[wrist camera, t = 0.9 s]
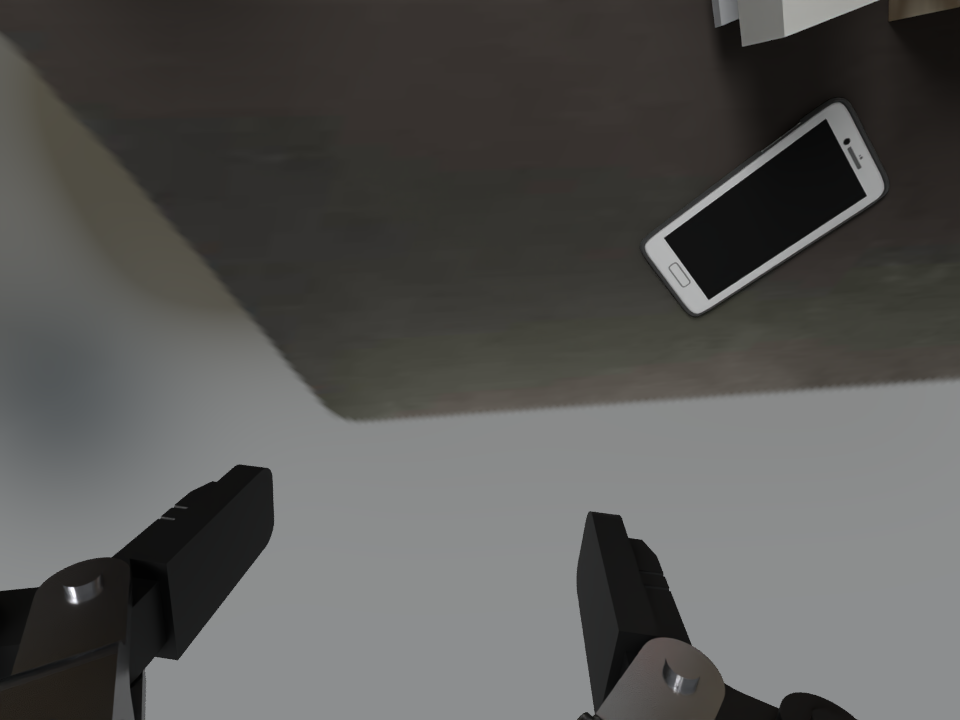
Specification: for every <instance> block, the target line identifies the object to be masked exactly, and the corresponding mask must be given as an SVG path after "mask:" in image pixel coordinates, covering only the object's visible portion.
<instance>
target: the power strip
mask: <svg viewBox="0 0 960 720" xmlns="http://www.w3.org/2000/svg"><path fill="white" fill-rule="evenodd" d="M875 1H878V0H712V6H713V14H714V22H715V28H717V27H719V26H722V25H725V24H727V23H729V22H732V21H734V20H737V19H739V21H740V31H741V41H742V47H744V46H748V45H753V44H757V43H762V42H766V41H770V40H775V39H779V38H784V37H787V36H789V35H792V34H794V33H797V32H799V31H802V30H804V29H807V28H809V27H812V26H815V25H817V24H820V23H822V22H825V21H827V20H830V19H832V18H835V17H837V16H840V15H842V14H845V13H847V12H850V11H853V10H855V9H858V8H860V7H863V6H865V5H868V4H870V3H873V2H875Z"/></svg>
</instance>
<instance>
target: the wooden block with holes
mask: <svg viewBox="0 0 960 720" xmlns="http://www.w3.org/2000/svg"><path fill="white" fill-rule="evenodd" d="M958 7H960V0H889V17H888V22H889V21H894V20H899V19H904V18H909V17H914V16H918V15H923V14H928V13H933V12H938V11H943V10H948V9H953V8H958Z"/></svg>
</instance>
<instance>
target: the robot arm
mask: <svg viewBox="0 0 960 720" xmlns="http://www.w3.org/2000/svg"><path fill="white" fill-rule="evenodd" d="M273 526H274V507H273V481H272V473H271V470H270V469H268V468H263V467H254V466H246V465H237V466H235V467H234V468H232V469H231V470H230V471H229V472H228V473H227V474H226V475H224V476H223V477H222V478H221V479H220V480H219V481H217V482H213V481H212V482H210V483H208V484H206V485H204V486H202V487H200V488H197V489H195V490H193V491H191V492H190V493H188V494H187V495H186V496H185V497H184V498H182V499H181V500H180V501H179V502H178V503H176V504H175V506H174V508H171V509H169V510H168V511H167V512H166V513H165V514H163V515H162V517H161V519H157V520H156V521H155V522H154V523H153V524H151V525H150V526H149V527H148V528H147V529H145V530H144V531H143V532H142V533H141V534H140V535H138V536H137V537H136V538H135V539H133V540H132V541H131V542H130V543H129V544H127V545H126V546H125V547H124V548H123V549H121V550H120V551H119V552H118V553H117V554H115V555H114V556H113V557H112V558H110V557H106V558H96V559H90V560H86V561H82V562H79V563H76V564H74V565H71V566H69V567H67V568H64V569H63V570H61V571H59V572H57V573H56V574H54V575H53V576H51V577H50V578H48V579H47V580H46V581H45V582H44V583H43V584H42V585H41V586H40V587H37V588H27V589H16V590H7V591H0V720H145V701H146V698H145V697H146V678H145V677H146V676H145V667H146V666H147V665H148V664H149V663H150V662H151V661H152V659H153V658H154V657H161V658H167V659H173V660H178V659H179V658H180V657H181V656H182V654H183V653H184V652H185V650H186V649H187V648H188V646H189V645H190V644H191V643H192V641H193V640H194V639H195V637H196V636H197V635H198V633H199V632H200V631H201V630H202V628H203V627H204V625H205V624H206V623H207V622H208V621H209V619H210V618H211V617H212V615H213V614H214V613H215V612H216V610H217V609H218V608H219V606H220V605H221V604H222V602H223V601H224V600H225V599H226V597H227V596H228V595H229V594H230V592H231V591H232V590H233V588H234V587H235V586H236V584H237V583H238V582H239V581H240V579H241V578H242V577H243V575H244V574H245V573H246V572H247V570H248V569H249V568H250V566H251V565H252V564H253V563H254V561H255V560H256V559H257V557H258V556H259V555H260V553H261V552H262V551H263V550H264V548H265V547H266V545H267V544H268V542H269V540H270V537H271V534H272V531H273ZM577 594H578V600H579V608H580V615H581V622H582V628H583V635H584V642H585V649H586V656H587V663H588V670H589V677H590V683H591V690H592V696H593V704H594V711H595V715H594V716H593V717H592V716H591V715H590V714H589V713H588V712H585V713H583V714H582V715H581V716H580V717H579V718H578V719H577V720H857V719H855V718H854V717H853V716H852V715H851V714H849V713H848V712H847V711H845V710H844V709H842V708H841V707H839V706H838V705H836V704H834V703H833V702H831V701H829V700H826V699H824V698H822V697H819V696H816V695H813V694H809V693H801V692H800V693H792V694H789V695H787V696H786V697H785V698H784V699H783V700H782V703H781V705H780V708H777V707H774V706H772V705H769V704H767V703H765V702H762V701H760V700H757V699H755V698H753V697H750V696H748V695H745V694H743V693H741V692H739V691H737V690H735V689H733V688H731V687H730V686H728V685H726V684H725V683H724V682H723V679H722V676H721V674H720V673H719V671H718V669H717V668H716V667H715V665H714V664H713V663H712V662H711V660H710V659H709V658H708V657H706V656H705V655H704V654H703V653H702V652H700V651H699V650H698V649H696V648H694V647H693V646H692V645H691V642H690V640H689V637H688V635H687V632H686V629H685V627H684V624H683V622H682V619H681V617H680V615H679V612H678V609H677V607H676V604H675V601H674V599H673V597H672V594H671V592H670V591H669V586H668V584H667V581H666V579H665V577H663V571H662V569H661V566H660V563H659V561H658V558H657V556H656V555H655V554H654V553H653V552H652V551H651V549H650V548H649V547H648V546H647V545H646V544H645V543H644V542H643V541H642V540H639V539H632V538H628V536H627V533H626V530H625V527H624V524H623V521H622V518H621V516H620V515H613V514H606V513H598V512H591V511H590V512H589V513H588V515H587V518H586V523H585V528H584V534H583V540H582V545H581V550H580V555H579V560H578V567H577Z"/></svg>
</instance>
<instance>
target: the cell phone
mask: <svg viewBox="0 0 960 720" xmlns="http://www.w3.org/2000/svg"><path fill="white" fill-rule="evenodd" d="M799 121H800V123H798V124H797V125H796V126H794V127H793V128H792V129H790V130H789V131H788V132H786V133H785V134H784V135H782V136H781V137H780V138H778V139H777V140H776V141H774V142H773V143H772V144H770V145H769V146H768V147H766V148H765V149H764V150H762V151H758V152H757V153H755V154H754V155H753V156H751V157H750V158H749V159H747V160H746V161H745V162H743V163H742V164H741V165H739V166H738V167H737V168H735V169H734V170H733V171H731V172H730V173H729V174H727V175H726V176H725V177H723V178H722V179H721V180H719V181H718V182H717V183H715V184H714V185H713V186H711V187H710V188H709V189H707V190H706V191H705V192H703V193H702V194H701V195H699V196H698V197H697V198H695V199H694V200H693V201H691V202H690V203H689V204H688V205H686V206H685V207H684V208H682V209H681V210H680V211H678V212H677V213H676V214H674V215H673V216H672V217H670V218H669V219H668V220H666V221H665V222H664V223H662V224H661V225H660V226H658V227H657V228H656V229H654V230H653V231H652V232H650V233H649V234H648V235H647V236H646V237H645V238H644V239H643V240H642V241H641V243H640V250H641V252H642V254H643V256H644V257H645V259H646V260H647V262H648V263H649V264H650V266H651V267H652V268H653V270H654V271H655V272H656V274H657V275H658V276H659V278H660V279H661V280H662V282H663V283H664V284H665V286H666V287H667V288H668V290H669V291H670V292H671V294H672V295H673V296H674V298H675V299H676V300H677V302H678V303H679V304H680V305H681V307H682V308H683V309H684V310H685V311H686V312H687V313H688V314H689V315H691V316H693V317H696V316H700V315H702V314H704V313H705V312H707V311H709V310H711V309H712V308H714V307H715V306H717V305H719V304H720V303H722V302H723V301H725V300H726V299H728V298H729V297H731V296H732V295H734V294H736V293H737V292H739V291H740V290H742V289H743V288H745V287H746V286H748V285H750V284H751V283H753V282H754V281H756V280H757V279H759V278H760V277H762V276H763V275H765V274H767V273H768V272H770V271H771V270H773V269H774V268H776V267H777V266H779V265H780V264H782V263H784V262H785V261H787V260H788V259H790V258H791V257H793V256H794V255H796V254H798V253H799V252H801V251H802V250H804V249H805V248H807V247H808V246H810V245H811V244H813V243H815V242H816V241H818V240H819V239H821V238H822V237H824V236H825V235H827V234H829V233H830V232H832V231H833V230H835V229H836V228H838V227H839V226H841V225H842V224H844V223H846V222H847V221H849V220H850V219H852V218H853V217H855V216H856V215H858V214H860V213H861V212H863V211H864V210H866V209H867V208H869V207H870V206H872V205H873V204H874V203H876V202H877V201H878V200H880V199H881V198H882V197H883V196H884V195H885V194H886V193H887V192H888V190H889V185H890V183H889V179H888V176H887V174H886V172H885V170H884V168H883V166H882V164H881V162H880V160H879V158H878V156H877V154H876V152H875V150H874V148H873V146H872V144H871V142H870V140H869V138H868V136H867V134H866V132H865V130H864V128H863V126H862V124H861V122H860V120H859V118H858V116H857V114H856V112H855V110H854V109H853V107H852V105H851V104H850V103H849V101H848V100H846V99H845V98H839V97H836V98H832V99H830V100H828V101H826V102H825V103H823V104H821V105H820V106H819V107H817V108H816V109H814V110H813V111H812V112H810V113H809V114H808V115H806V116H805V117H803V118H802V119H801V120H799ZM812 241H813V242H812ZM809 243H810V244H809ZM694 313H695V314H694Z"/></svg>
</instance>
